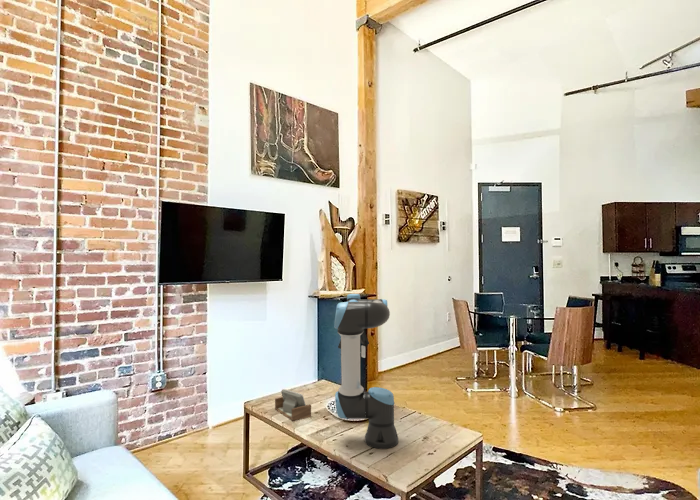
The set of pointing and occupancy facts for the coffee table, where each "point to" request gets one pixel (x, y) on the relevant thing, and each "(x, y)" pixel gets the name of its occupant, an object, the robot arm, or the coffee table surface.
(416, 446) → the coffee table surface
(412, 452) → the coffee table surface
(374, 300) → the robot arm
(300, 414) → the cradle
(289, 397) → the digital clock
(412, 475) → the coffee table surface
